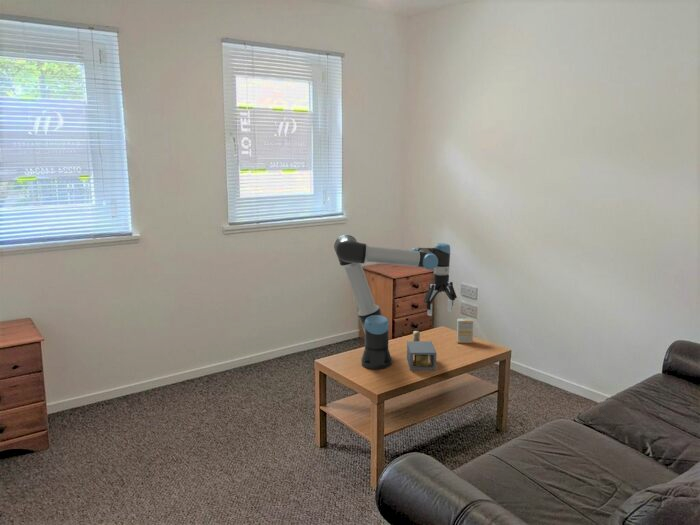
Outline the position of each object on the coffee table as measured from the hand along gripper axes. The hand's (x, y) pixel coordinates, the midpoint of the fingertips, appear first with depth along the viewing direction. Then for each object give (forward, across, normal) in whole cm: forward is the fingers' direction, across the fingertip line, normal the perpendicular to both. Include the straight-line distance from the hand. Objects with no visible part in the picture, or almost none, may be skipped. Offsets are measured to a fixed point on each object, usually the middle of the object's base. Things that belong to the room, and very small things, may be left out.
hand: (439, 313), depth 286 cm
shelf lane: (+21, -18, -9) cm, 29 cm away
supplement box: (+20, +22, +3) cm, 30 cm away
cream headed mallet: (+21, -14, -1) cm, 25 cm away
